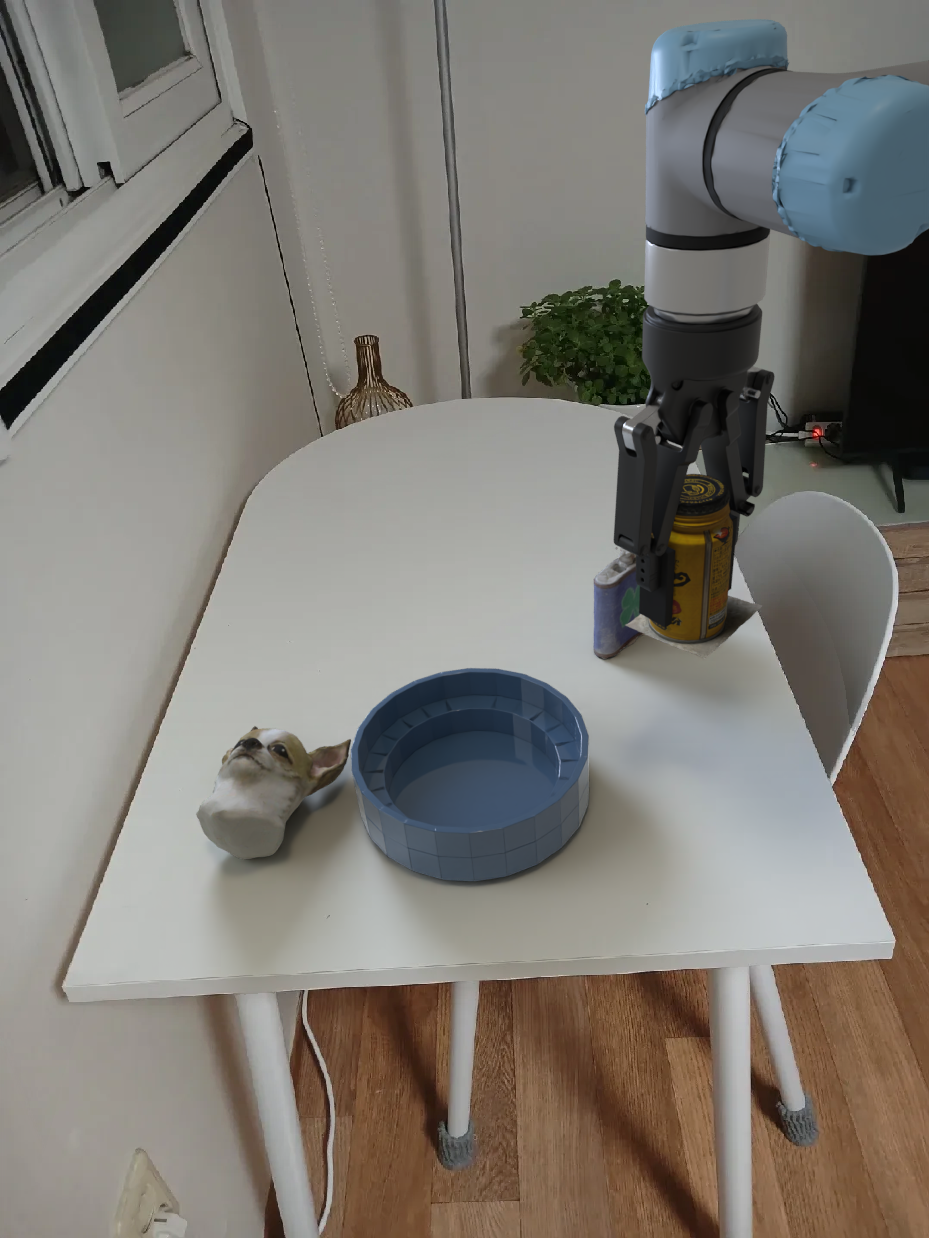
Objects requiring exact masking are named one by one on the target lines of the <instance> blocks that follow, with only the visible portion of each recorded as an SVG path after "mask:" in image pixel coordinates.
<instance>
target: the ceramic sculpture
mask: <svg viewBox="0 0 929 1238" xmlns="http://www.w3.org/2000/svg"><path fill="white" fill-rule="evenodd" d="M351 742H352V738H349V739H347V740H345V741H342V742H341V743H339V744H335V745H328V746H327V745H324V746H320V747H317V748H315V749H314V750H313V751H310V752H307V749H306V748H305V746H304V744H303V743H302V741H301V740H300V739H299V738H298V736H297V735H295V734H294V733H292V732H289V731H287V730H285V729H279V728H276V727H275V728H273V727H272V728H270V727H268V728H267V727H266V728H259V727H258V726H256V725H254V726H253V727H252V728H251V730H250V731H249V732H247V733H246V734H243V736H241V737H240V738H239V740H238V741H237V742H236V744H235V745H234V746H233V747H230V748H229V749H227V750H226V753H225V754H224V755H223V756H222V759H221V766H220V769H219V771H218V773H217V776H216V779H215V780H214V786H213V790H212V794H211V795H210V796H209V797H207V798H206V799H204V800H203V801H202V802H201V804H200V805H199V808H198V810H197V811H196V814H195V815H196V818H197V819H198V822H199V824H200V827H201V830H202V832H203V834H204V835H205V836H206V838H207V839H208V840H209V841H210V842H212V843H213V844H214V845H215V846H216V847H217V848H219V849H221V850H222V851H225V852H226V853H228V854H230V855H231V856H234V857H235V858H237V859H239V860H251V859H254V858H264V857H269V856H272V855H274V854H275V853H276V852H277V851H278V849H279V848H280V846H281V845H282V844H283V841H284V838H285V830H286V823H287V821H288V820H289V819H290V817H291V815H292V814H293V813H294V812H295V811H296V810H297V809H298V807H299V806H300V805H301V804H302V802H303V800H304V799H306V797H308V796H311V795H313V794H315V793H316V792H318V791H321V790H322V789H324V788H326V787H328V786H329V785H331V784H332V783H334V782H335V781H337V779H338V778H339V777H340V775H341V774H342V772H343V771H344V769H345V767H346V764H347V763H348V759H349V755H350V754H349V753H350V750H351V745H352V743H351Z"/></svg>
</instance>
